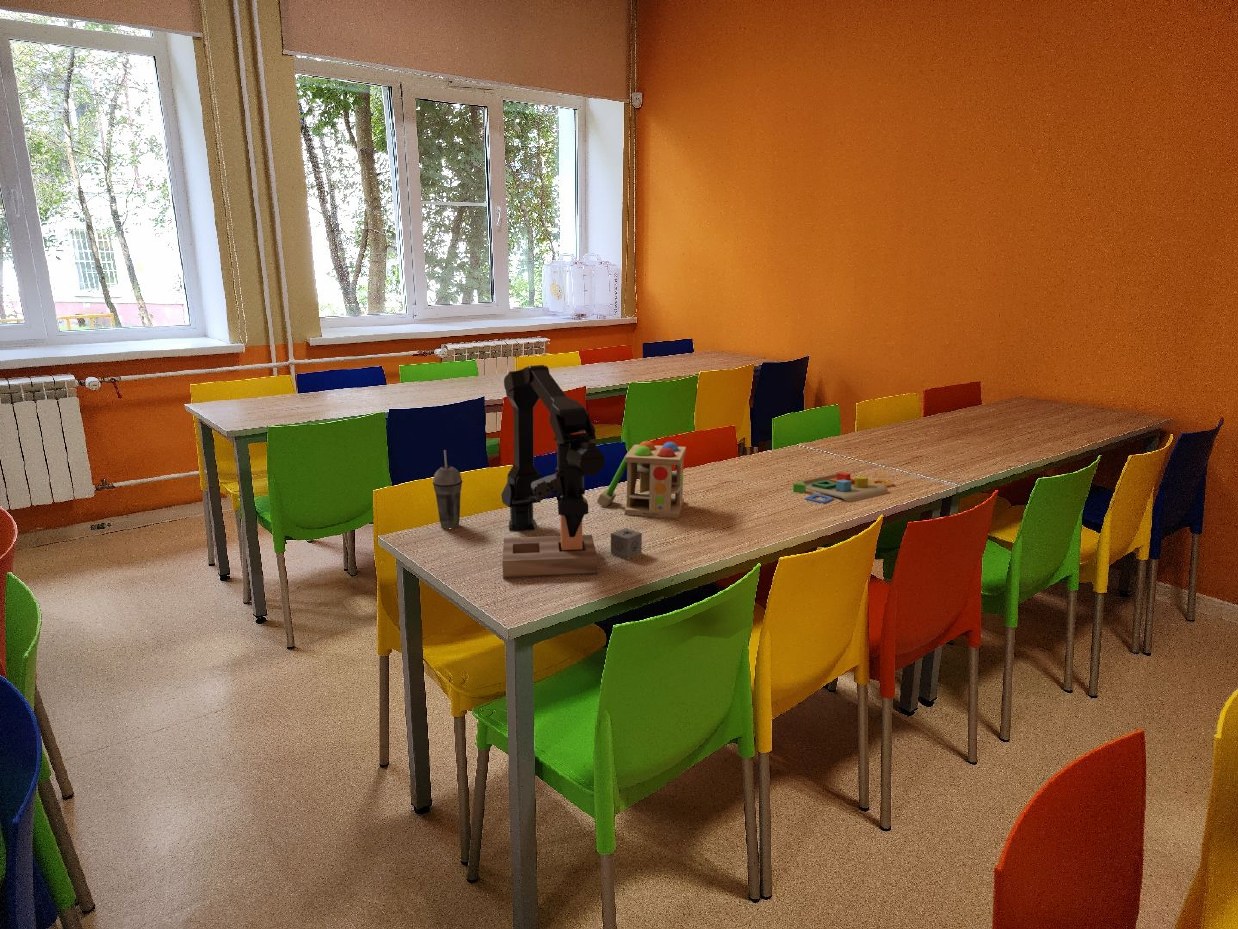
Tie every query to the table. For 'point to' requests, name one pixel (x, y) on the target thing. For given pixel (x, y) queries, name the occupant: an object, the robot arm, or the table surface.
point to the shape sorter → (842, 487)
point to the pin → (566, 540)
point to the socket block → (547, 557)
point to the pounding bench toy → (651, 480)
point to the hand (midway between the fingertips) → (571, 533)
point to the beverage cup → (448, 495)
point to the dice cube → (626, 543)
